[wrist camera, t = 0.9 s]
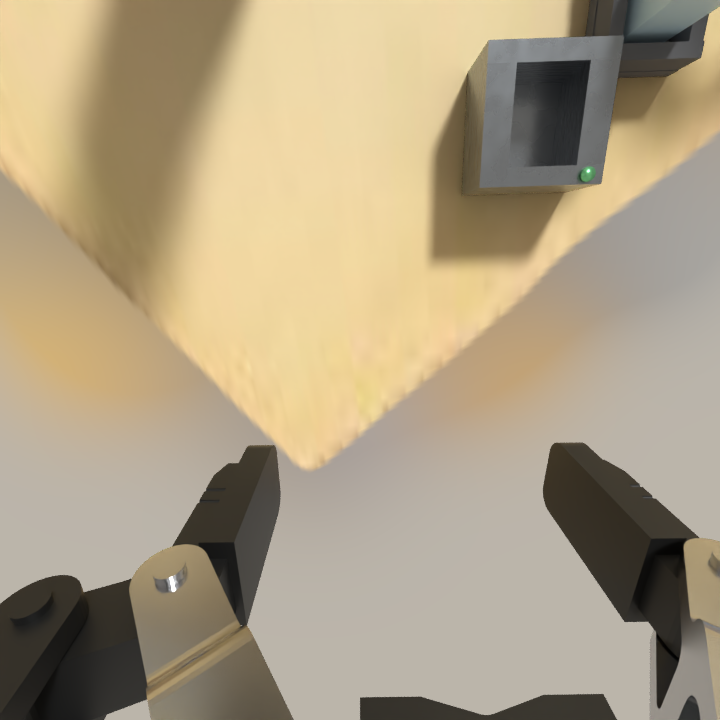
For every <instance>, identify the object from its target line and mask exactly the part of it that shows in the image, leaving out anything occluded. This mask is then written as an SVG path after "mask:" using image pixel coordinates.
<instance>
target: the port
mask: <svg viewBox="0 0 720 720" xmlns="http://www.w3.org/2000/svg"><path fill="white" fill-rule="evenodd" d="M623 41H624V35H620V36H592V37H563V38H534V39H505V40H489V41H488V42H487V44H486V45H485V47H484V48H483V50H482V51H481V53H480V55H479V56H478V58H477V59H476V61H475V62H474V64H473V65H472V67H471V68H470V70H469V71H468V78H467V98H466V118H465V138H464V158H463V178H462V196H465V195H496V194H527V193H558V192H569V191H573V190H577V189H581V188H586V187H590V186H594V185H598V184H601V182H602V176H603V169H604V163H605V156H606V150H607V143H608V137H609V131H610V124H611V118H612V111H613V105H614V99H615V92H616V86H617V79H618V73H619V67H620V60H621V54H622V47H623Z"/></svg>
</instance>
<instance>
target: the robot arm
mask: <svg viewBox="0 0 720 720" xmlns="http://www.w3.org/2000/svg"><path fill="white" fill-rule="evenodd" d="M543 497H544V501H545V505H546V507H547V509H548V511H549V512H550V514H551V515H552V517H553V518H554V520H555V521H556V522H557V524H558V525H559V527H560V528H561V530H562V531H563V533H564V534H565V536H566V537H567V538H568V540H569V541H570V543H571V544H572V546H573V547H574V549H575V550H576V552H577V553H578V554H579V556H580V558H581V559H582V560H583V562H584V563H585V565H586V566H587V568H588V569H589V571H590V572H591V574H592V575H593V576H594V578H595V579H596V581H597V582H598V584H599V585H600V587H601V588H602V589H603V591H604V592H605V594H606V595H607V597H608V598H609V600H610V601H611V602H612V604H613V605H614V607H615V608H616V610H617V611H618V613H619V614H620V616H621V617H622V619H623V620H624V622H649V623H650V624H651V626H652V627H653V629H654V631H653V633H652V636H651V640H650V720H720V542H719V541H716V540H712V539H705V538H699V537H698V536H697V535H696V534H695V533H693V532H692V531H691V530H690V529H689V528H688V527H687V526H686V525H684V524H683V523H682V522H681V521H680V520H679V519H678V518H677V517H675V516H674V515H673V514H672V513H671V512H670V511H669V510H668V509H667V508H665V507H664V506H663V505H662V504H661V503H660V502H659V501H658V500H656V499H653V498H652V495H651V494H650V493H649V492H647V491H646V490H645V489H644V488H643V487H640V485H639V483H637V482H636V481H635V480H634V479H633V478H632V477H631V476H630V475H628V474H627V473H626V472H625V471H623V470H622V469H620V468H618V467H616V466H615V465H613V464H611V463H609V462H607V461H605V460H602V459H601V458H600V457H599V456H598V455H597V454H596V453H595V452H594V451H593V450H591V449H590V448H589V447H588V446H587V445H586V444H584V443H554V444H553V445H552V447H551V449H550V453H549V459H548V464H547V469H546V475H545V480H544V486H543ZM279 506H280V482H279V472H278V461H277V451H276V447H275V446H274V445H255V446H248V447H247V448H246V450H245V452H244V454H243V456H242V458H241V460H240V462H239V463H233V464H232V463H229V464H227V465H226V466H225V467H223V468H222V469H221V470H220V471H219V472H217V473H216V474H215V475H214V476H213V478H212V480H211V481H210V483H209V485H208V487H207V488H206V491H205V492H204V494H203V495H202V497H201V499H200V502H199V503H198V504H197V505H196V507H195V509H194V510H193V512H192V514H191V516H190V517H189V519H188V521H187V522H186V524H185V526H184V527H183V529H182V531H181V533H180V534H179V536H178V537H177V539H176V541H175V543H174V544H173V546H172V547H170V548H167V549H164V550H162V551H160V552H159V553H156V554H155V555H153V556H152V557H150V558H149V559H148V560H147V561H145V562H144V563H143V564H142V565H141V566H140V567H139V568H138V570H137V571H136V572H135V574H134V576H133V577H132V579H129V580H126V581H123V582H120V583H116V584H112V585H109V586H106V587H102V588H98V589H95V590H91V591H87V592H83V589H82V587H81V584H80V582H79V580H77V579H76V578H75V577H72V576H68V575H58V576H52V577H48V578H45V579H42V580H39V581H37V582H34V583H32V584H30V585H28V586H26V587H24V588H22V589H20V590H19V591H17V592H16V593H14V594H12V595H11V596H10V597H8V598H7V599H6V600H5V601H3V602H2V603H1V604H0V720H104V719H105V717H106V715H107V714H109V713H112V712H114V711H117V710H120V709H122V708H125V707H128V706H130V705H133V704H135V703H138V702H141V701H143V700H146V699H147V700H148V706H149V711H150V717H151V720H293V718H292V715H291V713H290V711H289V709H288V707H287V705H286V703H285V701H284V699H283V697H282V695H281V693H280V691H279V689H278V686H277V684H276V682H275V680H274V678H273V676H272V674H271V672H270V670H269V668H268V666H267V664H266V662H265V660H264V657H263V656H262V653H261V651H260V649H259V647H258V645H257V643H256V641H255V639H254V637H253V635H252V633H251V631H250V630H249V628H248V627H247V623H248V619H249V616H250V612H251V609H252V605H253V601H254V598H255V594H256V591H257V587H258V584H259V580H260V577H261V573H262V570H263V566H264V562H265V558H266V555H267V552H268V548H269V544H270V541H271V537H272V534H273V530H274V526H275V523H276V519H277V516H278V512H279ZM240 625H243V626H240ZM360 720H617V719H616V717H615V715H614V714H613V712H612V710H611V708H610V706H609V704H608V702H607V700H606V698H605V697H604V695H603V694H582V695H581V694H580V695H579V694H577V695H542V696H540V697H537V698H534V699H532V700H529V701H527V702H524V703H521V704H519V705H516V706H513V707H511V708H508V709H506V710H503V711H500V712H498V713H495V714H492V715H481V714H477V713H474V712H471V711H467V710H464V709H460V708H457V707H453V706H450V705H446V704H443V703H440V702H436V701H433V700H429V699H426V698H423V697H370V698H369V697H366V698H360Z"/></svg>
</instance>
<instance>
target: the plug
mask: <svg viewBox="0 0 720 720" xmlns="http://www.w3.org/2000/svg"><path fill="white" fill-rule="evenodd" d="M718 7H720V0H628V5H627V12H626V18H625V25H624V31H623V35H624V41H623V44H626V43H655V42H666V41H667V40H669V39H670V38H672V37H673V36H675V35H677V34H678V33H680V32H681V31H683V30H684V29H686V28H687V27H689V26H690V25H692V24H694V23H695V22H697V21H698V20H700V19H701V18H703V17H704V16H706V15H707V14H709V13H711V12H712V11H714V10H715V9H717V8H718Z"/></svg>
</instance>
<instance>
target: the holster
mask: <svg viewBox="0 0 720 720" xmlns="http://www.w3.org/2000/svg"><path fill="white" fill-rule="evenodd" d="M627 5H628V0H590V5H589V12H588V20H587V28H586V36H585V37H592V36H620V35H623V31H624V25H625V18H626V12H627ZM708 16H709V14H707V15H706V16H704V17H703V18H701V19H700V20H698V21H697V22H695V23H694V24H692V25H690V26H689V27H687V28H686V29H684V30H683V31H681V32H680V33H678V34H677V35H675V36H673V37H672V38H670V39H669V40H667V41H666V42H655V43H626V44H623V47H622V54H621V60H620V67H619V73H618V78H628V77H657V76H669V75H671V74H673V73H675V72H676V71H678V70H679V69H681V68H683V67H684V66H686V65H688V64H690V63H692V62H694V61H696V60H698V59H699V58H701V55H702V51H703V46H704V41H703V39H704V35H705V30H706V25H707V20H708Z"/></svg>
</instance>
